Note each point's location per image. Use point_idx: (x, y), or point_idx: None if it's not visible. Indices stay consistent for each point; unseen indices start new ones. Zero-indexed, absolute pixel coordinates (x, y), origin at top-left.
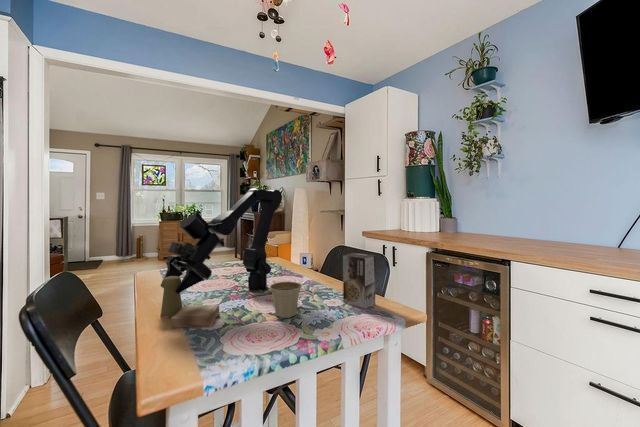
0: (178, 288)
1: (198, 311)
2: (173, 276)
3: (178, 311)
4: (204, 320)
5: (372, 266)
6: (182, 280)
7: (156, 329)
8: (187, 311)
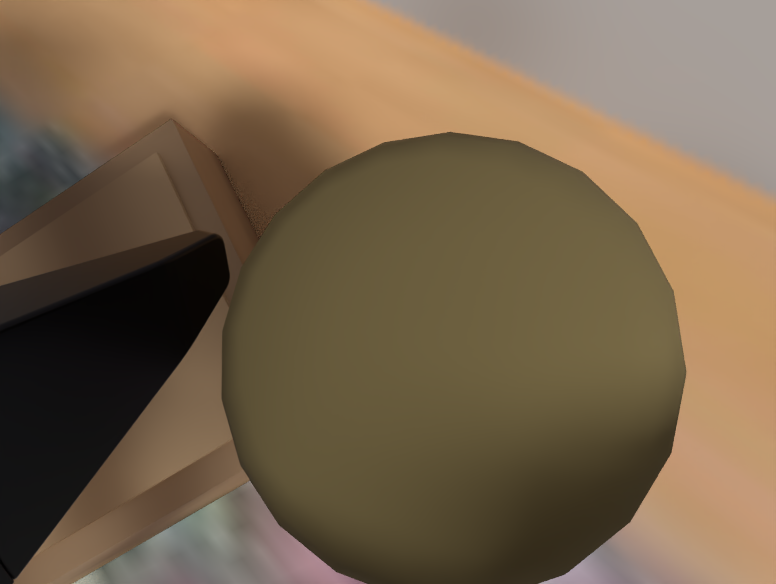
0: (143, 252)
1: None
2: (377, 385)
3: (238, 258)
4: None
5: None
6: (3, 306)
7: (293, 82)
8: None
